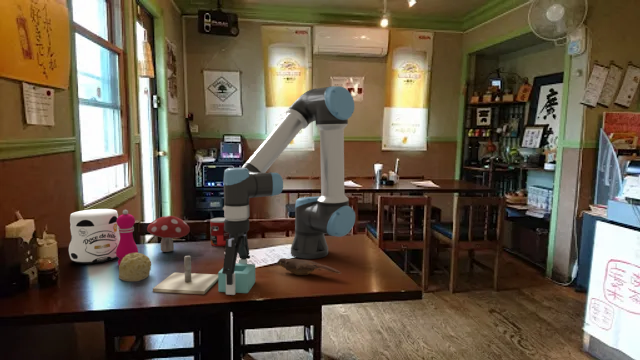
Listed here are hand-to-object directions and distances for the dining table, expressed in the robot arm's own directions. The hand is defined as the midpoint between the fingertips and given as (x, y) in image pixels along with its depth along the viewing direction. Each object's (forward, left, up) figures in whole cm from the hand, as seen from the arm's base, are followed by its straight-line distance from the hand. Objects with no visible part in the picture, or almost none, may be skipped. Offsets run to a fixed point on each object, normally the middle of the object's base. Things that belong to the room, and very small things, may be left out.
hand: (237, 286), depth 123 cm
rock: (+36, -4, 0) cm, 36 cm away
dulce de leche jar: (+60, -19, 0) cm, 63 cm away
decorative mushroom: (+38, -32, 0) cm, 50 cm away
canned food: (+22, -46, 0) cm, 51 cm away
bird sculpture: (-20, -13, 0) cm, 24 cm away
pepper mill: (+46, -16, 0) cm, 49 cm away
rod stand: (+16, 0, 0) cm, 16 cm away
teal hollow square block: (0, 0, 0) cm, 0 cm away
